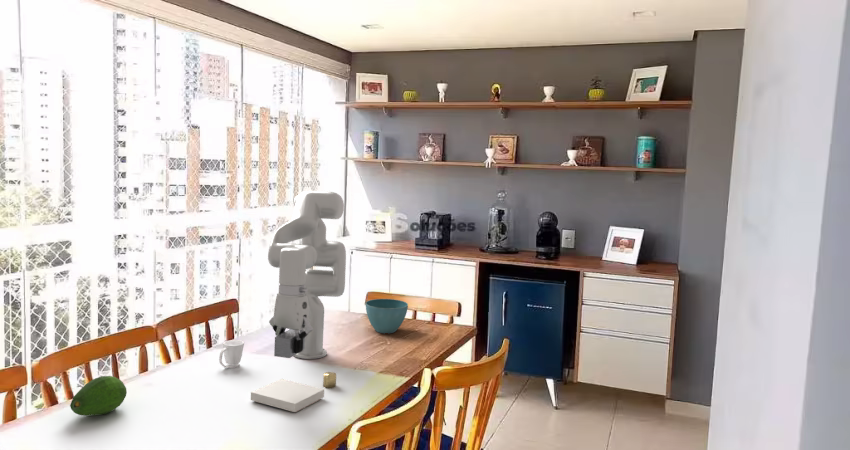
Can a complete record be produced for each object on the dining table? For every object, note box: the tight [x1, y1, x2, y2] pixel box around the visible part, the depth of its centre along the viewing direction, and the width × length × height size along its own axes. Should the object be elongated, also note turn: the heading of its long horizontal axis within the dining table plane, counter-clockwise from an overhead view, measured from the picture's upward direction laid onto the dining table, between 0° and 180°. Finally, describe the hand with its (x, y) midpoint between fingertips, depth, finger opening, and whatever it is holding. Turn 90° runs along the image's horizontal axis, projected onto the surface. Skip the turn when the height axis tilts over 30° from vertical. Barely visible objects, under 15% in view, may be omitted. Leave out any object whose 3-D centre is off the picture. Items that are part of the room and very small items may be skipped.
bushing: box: [322, 371, 337, 389], centre depth 197 cm, size 4×4×4 cm
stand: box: [250, 378, 325, 413], centre depth 183 cm, size 16×14×3 cm
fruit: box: [69, 375, 127, 416], centre depth 166 cm, size 15×10×10 cm, turn 156°
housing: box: [273, 329, 305, 359], centre depth 182 cm, size 10×5×6 cm, turn 166°
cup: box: [218, 339, 245, 369], centre depth 210 cm, size 7×10×8 cm
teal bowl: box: [365, 298, 409, 334], centre depth 267 cm, size 18×18×12 cm
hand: (289, 349), depth 182 cm, fingers closed on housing, 5 cm apart
